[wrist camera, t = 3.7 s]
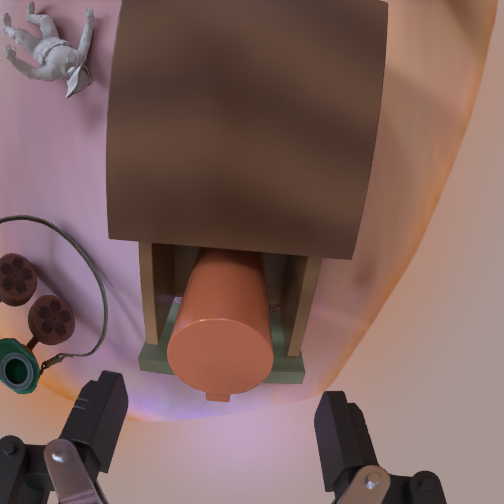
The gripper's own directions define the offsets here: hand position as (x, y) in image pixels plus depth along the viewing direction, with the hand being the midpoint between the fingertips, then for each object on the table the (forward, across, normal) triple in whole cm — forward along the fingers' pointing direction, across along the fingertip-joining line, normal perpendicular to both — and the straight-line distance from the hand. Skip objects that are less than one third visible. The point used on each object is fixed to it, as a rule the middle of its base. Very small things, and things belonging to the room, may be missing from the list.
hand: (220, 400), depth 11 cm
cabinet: (+15, 0, -10) cm, 18 cm away
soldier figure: (+15, +16, -17) cm, 28 cm away
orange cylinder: (+13, 0, 0) cm, 13 cm away
